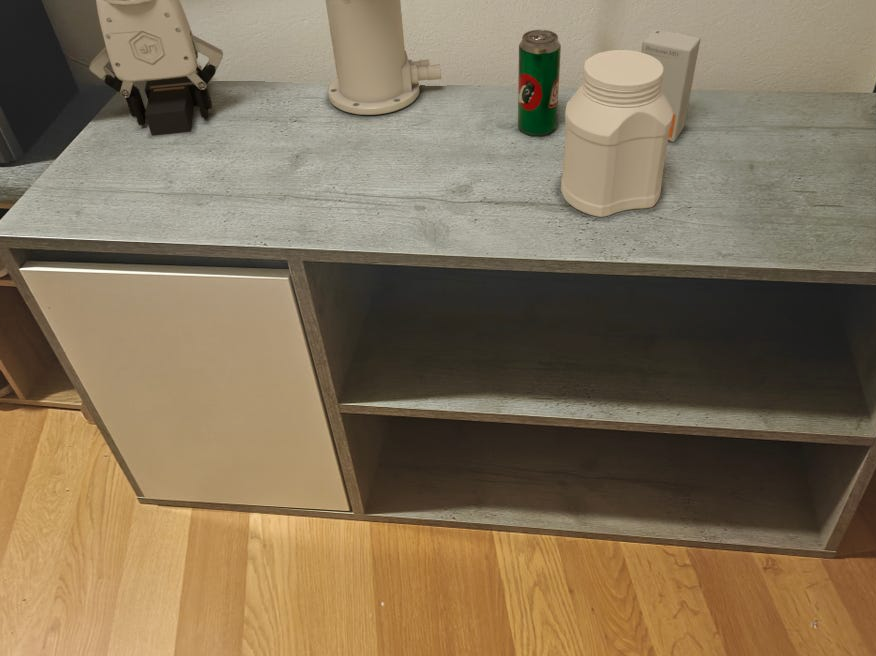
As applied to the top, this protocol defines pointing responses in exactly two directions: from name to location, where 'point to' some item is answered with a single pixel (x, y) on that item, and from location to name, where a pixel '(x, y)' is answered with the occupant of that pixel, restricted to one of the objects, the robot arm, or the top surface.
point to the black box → (169, 110)
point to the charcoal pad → (171, 85)
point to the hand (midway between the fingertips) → (174, 116)
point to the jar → (616, 134)
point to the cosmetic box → (674, 71)
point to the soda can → (538, 82)
